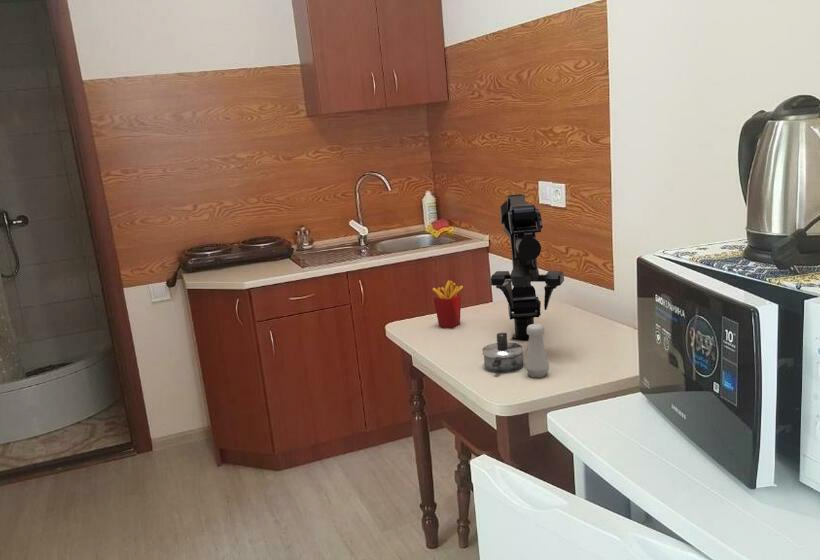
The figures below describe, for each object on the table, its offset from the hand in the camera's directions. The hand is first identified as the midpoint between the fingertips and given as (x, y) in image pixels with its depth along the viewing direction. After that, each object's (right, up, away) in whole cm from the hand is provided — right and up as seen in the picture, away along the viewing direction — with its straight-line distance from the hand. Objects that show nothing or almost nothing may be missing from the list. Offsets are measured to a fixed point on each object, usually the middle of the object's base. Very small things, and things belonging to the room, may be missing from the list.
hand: (528, 309), depth 194 cm
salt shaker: (0, -16, -13) cm, 21 cm away
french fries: (-18, -7, +35) cm, 40 cm away
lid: (-8, -11, -6) cm, 15 cm away
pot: (-7, -15, -5) cm, 17 cm away
